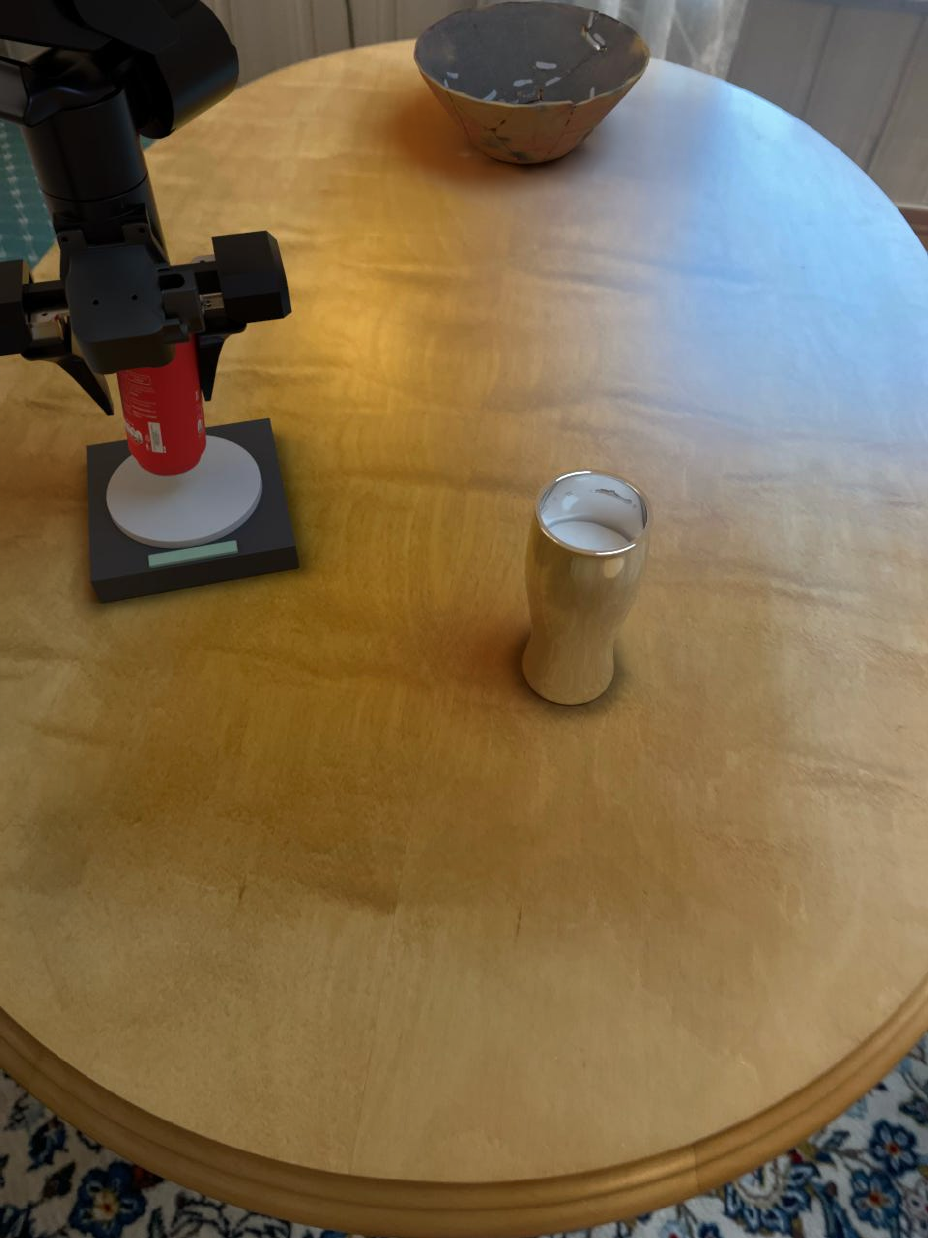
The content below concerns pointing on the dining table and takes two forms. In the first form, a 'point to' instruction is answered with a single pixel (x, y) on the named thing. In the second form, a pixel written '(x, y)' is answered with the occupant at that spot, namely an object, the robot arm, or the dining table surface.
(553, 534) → the beer glass
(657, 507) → the dining table surface
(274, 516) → the scale
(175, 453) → the beverage can
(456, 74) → the bowl
